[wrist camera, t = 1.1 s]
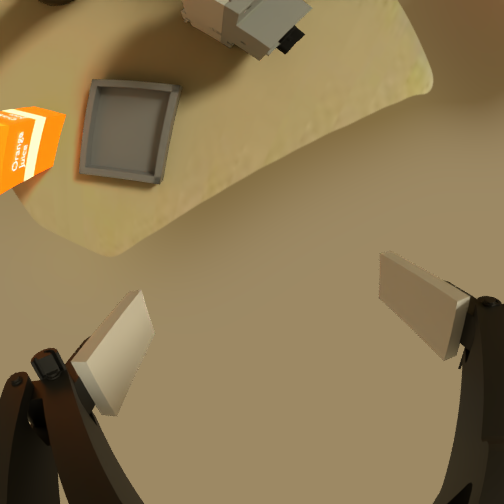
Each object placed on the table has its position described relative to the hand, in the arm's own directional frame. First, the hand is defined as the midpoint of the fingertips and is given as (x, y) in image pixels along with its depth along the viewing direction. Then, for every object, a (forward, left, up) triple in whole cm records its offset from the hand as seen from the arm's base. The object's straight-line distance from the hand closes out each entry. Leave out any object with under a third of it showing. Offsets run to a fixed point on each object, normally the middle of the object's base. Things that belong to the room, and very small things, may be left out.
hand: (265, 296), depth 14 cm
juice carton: (-2, -32, -29) cm, 44 cm away
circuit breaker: (-22, -4, -29) cm, 37 cm away
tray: (-4, -16, -29) cm, 33 cm away
